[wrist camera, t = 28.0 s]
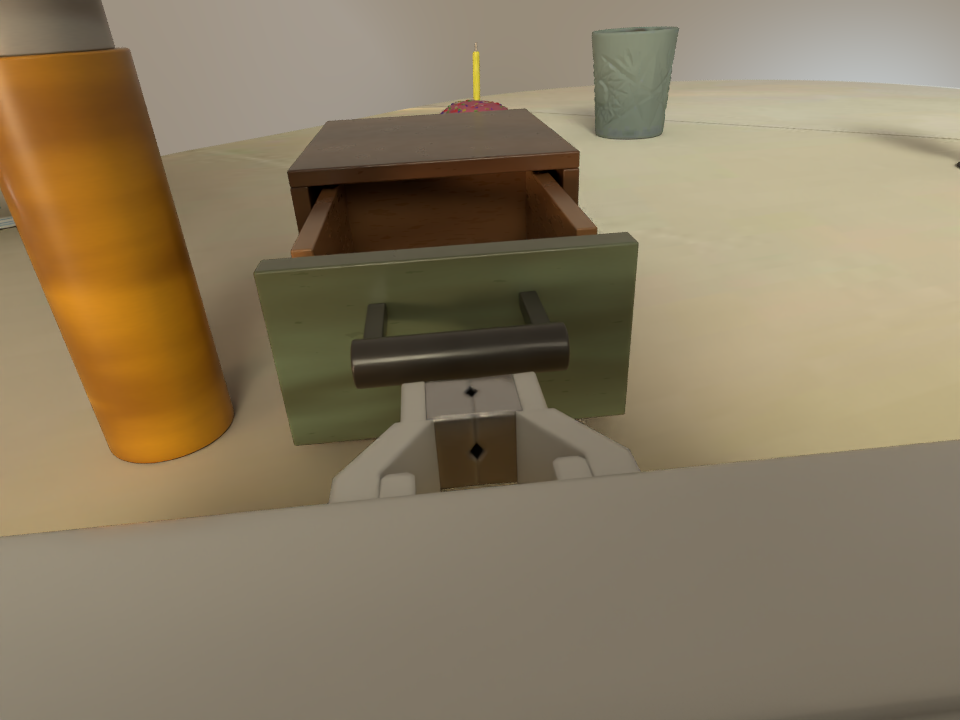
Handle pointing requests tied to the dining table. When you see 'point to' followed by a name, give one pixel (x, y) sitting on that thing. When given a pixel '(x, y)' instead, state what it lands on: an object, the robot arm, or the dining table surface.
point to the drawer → (446, 299)
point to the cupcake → (475, 103)
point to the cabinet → (429, 152)
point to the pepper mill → (105, 230)
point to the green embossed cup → (632, 80)
